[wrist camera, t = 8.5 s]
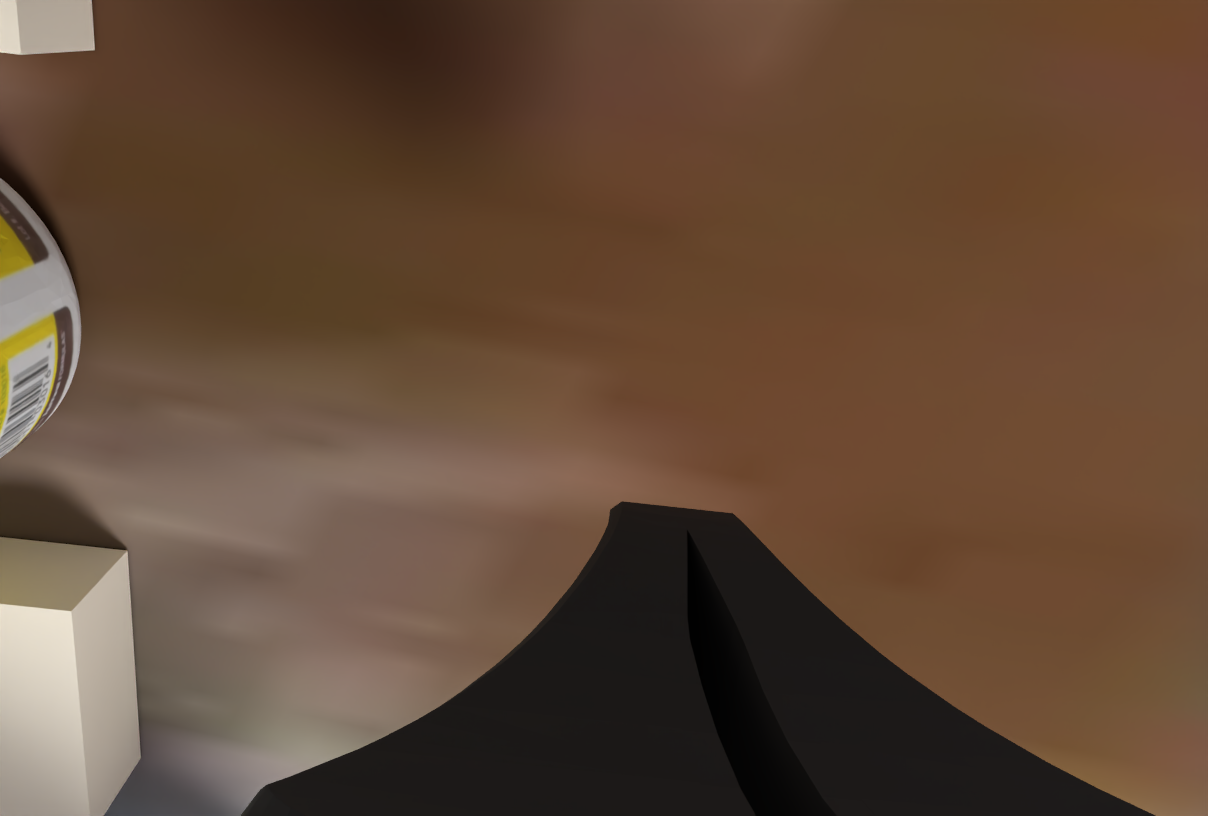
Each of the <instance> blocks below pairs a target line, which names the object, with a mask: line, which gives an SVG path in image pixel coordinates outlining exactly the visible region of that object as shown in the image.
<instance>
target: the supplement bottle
mask: <svg viewBox="0 0 1208 816" xmlns="http://www.w3.org/2000/svg"><path fill="white" fill-rule="evenodd" d="M80 342H81V319H80V309H79V302H78V298H77V293H76V289H75V286H74V283H73V280H72V276H71V273H70V271H69V268H68V266H67V263H66V261H65V259H64V257H63V255H62V253H61V251H60V249H59V247H58V245H57V243H56V241H55V240H54V238H53V237H52V235H51V234H50V232H49V230H48V229H47V227H46V226H45V225H44V223H43V222H42V221H41V219H40V218H39V217H38V215H37V214H36V213H35V212H34V210H33V209H32V208H31V207H30V206H29V205H28V204H27V203H26V202H25V200H24V199H23V198H22V197H21V196H20V195H19V194H18V193H17V192H16V191H15V190H13V189H12V188H11V187H10V186H9V185H8V184H7V183H6V182H5V181H4V180H2V179H1V178H0V458H1V457H2V456H4V455H5V454H6V453H8V452H10V451H12V450H14V449H15V448H16V447H17V446H18V445H19V444H21V443H22V442H23V441H25V440H26V439H27V438H28V437H29V436H30V435H31V434H33V433H34V432H35V431H36V430H37V429H39V428H40V427H41V426H42V425H43V424H44V422H45V421H46V420H47V419H48V418H49V417H50V416H51V415H52V414H53V412H54V411H55V410H56V409H57V407H58V406H59V404H60V403H61V401H62V400H63V398H64V396H65V394H66V392H67V391H68V389H69V386H70V384H71V382H72V379H73V376H74V373H75V370H76V367H77V362H78V357H79V352H80Z"/></svg>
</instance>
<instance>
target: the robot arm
mask: <svg viewBox="0 0 1208 816" xmlns="http://www.w3.org/2000/svg"><path fill="white" fill-rule="evenodd" d="M241 816H1155V815H1153V814H1151V813H1149V812H1147V811H1144V810H1142V809H1140V808H1138V807H1136V806H1134V805H1132V804H1130V803H1127V802H1125V801H1123V800H1121V799H1119V798H1117V797H1115V796H1113V795H1110V794H1108V793H1106V792H1104V791H1102V790H1100V789H1098V788H1096V787H1094V786H1092V785H1090V784H1088V783H1086V782H1084V781H1082V780H1080V779H1078V778H1076V777H1074V776H1073V775H1071V774H1069V773H1067V772H1065V771H1063V770H1061V769H1059V768H1057V767H1055V766H1053V765H1051V764H1050V763H1048V762H1046V761H1044V760H1042V759H1041V758H1039V757H1037V756H1035V755H1034V754H1032V753H1030V752H1029V751H1027V750H1025V749H1023V748H1022V747H1020V746H1018V745H1016V744H1015V743H1013V742H1011V741H1009V740H1008V739H1006V738H1004V737H1003V736H1001V735H999V734H997V733H996V732H994V731H992V730H990V729H989V728H987V727H985V726H984V725H982V724H981V723H979V722H977V721H976V720H974V719H973V718H971V717H969V716H968V715H966V714H965V713H963V712H962V711H960V710H958V709H957V708H955V707H954V706H952V705H951V704H949V703H948V702H947V701H945V700H944V699H942V698H941V697H940V696H938V695H937V694H935V693H934V692H932V691H931V690H930V689H928V688H927V687H925V686H924V685H922V684H921V683H920V682H918V681H917V680H915V679H914V678H912V677H911V676H910V675H908V674H907V673H905V672H904V671H903V670H901V669H900V668H899V667H897V666H896V665H895V664H893V663H892V662H891V661H890V660H888V659H887V658H886V657H884V656H883V655H882V654H881V653H879V652H878V651H877V650H876V649H875V648H873V647H872V646H871V645H870V644H869V643H867V642H866V641H865V640H864V639H863V638H862V637H860V636H859V635H858V634H857V633H856V632H854V631H853V630H852V629H851V628H850V627H849V626H847V625H846V624H845V623H844V622H843V621H842V620H840V619H839V618H838V617H837V616H836V615H835V614H834V613H833V612H832V611H831V610H829V609H828V608H827V607H826V606H825V605H824V604H823V603H822V602H821V601H820V600H819V599H818V598H817V597H816V596H814V595H813V594H812V593H811V592H810V591H809V590H808V589H807V588H806V587H805V586H804V585H803V584H802V583H801V582H800V581H799V580H798V579H797V578H796V577H795V576H794V575H793V574H792V573H791V572H790V571H789V570H788V569H787V568H786V567H785V566H784V565H783V564H782V563H781V562H780V561H779V560H778V559H777V558H776V557H775V556H774V554H773V553H772V552H771V551H770V550H769V549H768V548H767V547H766V546H765V545H764V544H763V543H762V542H761V541H760V540H759V539H758V538H757V537H756V536H755V535H754V534H753V533H752V532H751V531H750V529H749V528H748V527H747V526H746V525H745V524H744V523H743V522H742V521H741V520H739V519H738V518H737V517H736V516H735V515H734V514H733V513H724V512H714V511H705V510H696V509H687V508H677V507H668V506H659V505H650V504H640V503H631V502H621V503H619V504H618V505H616V506H615V507H614V508H612V509H611V510H610V516H609V523H608V526H607V528H606V530H605V533H604V535H603V537H602V539H601V540H600V542H599V544H598V546H597V548H596V550H595V551H594V553H593V554H592V556H591V558H590V559H589V561H588V562H587V564H586V565H585V567H584V568H583V570H582V571H581V573H580V574H579V576H578V577H577V579H576V580H575V581H574V583H573V584H572V585H571V587H570V588H569V589H568V590H567V592H566V593H565V594H564V595H563V596H562V598H561V599H560V600H559V601H558V602H557V604H556V605H555V606H554V607H553V608H552V610H551V611H550V612H549V613H548V614H547V616H546V617H545V618H544V619H543V620H542V621H541V622H540V623H539V624H538V626H537V627H536V628H535V629H534V630H533V631H532V632H531V633H530V634H529V635H528V636H527V637H526V638H525V639H524V640H523V641H522V642H521V643H520V644H519V645H517V646H516V647H515V648H514V649H513V650H512V651H511V652H510V653H509V654H508V655H506V656H505V657H504V658H503V659H502V660H501V661H500V662H499V663H497V664H496V665H495V666H494V667H492V668H491V669H490V670H489V671H487V672H486V673H485V674H483V675H482V676H481V677H480V678H478V679H477V680H476V681H474V682H473V683H472V684H471V685H469V686H468V687H467V688H465V689H464V690H463V691H462V692H460V693H459V694H457V695H456V696H454V697H453V698H451V699H450V700H449V701H447V702H446V703H444V704H443V705H441V706H440V707H438V708H437V709H435V710H433V711H431V712H430V713H428V714H426V715H425V716H423V717H421V718H419V719H418V720H416V721H414V722H412V723H410V724H408V725H406V726H404V727H403V728H401V729H399V730H397V731H395V732H393V733H391V734H389V735H387V736H385V737H383V738H381V739H379V740H377V741H375V742H373V743H371V744H369V745H366V746H364V747H362V748H360V749H358V750H355V751H353V752H350V753H348V754H345V755H343V756H340V757H338V758H335V759H333V760H330V761H328V762H325V763H323V764H320V765H318V766H315V767H313V768H310V769H308V770H305V771H303V772H300V773H298V774H296V775H293V776H291V777H288V778H285V779H282V780H279V781H276V782H274V783H271V784H268V785H266V786H265V787H263V788H262V789H261V790H260V791H259V792H258V794H257V795H256V796H255V797H254V799H253V800H252V801H251V803H250V804H249V805H248V807H247V808H246V809H245V811H244V812H243V813H242V815H241Z"/></svg>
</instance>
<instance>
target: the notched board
mask: <svg viewBox="0 0 1208 816" xmlns="http://www.w3.org/2000/svg"><path fill="white" fill-rule="evenodd" d="M90 50H95V45H94V29H93V14H92V0H0V52H3V53H11V54H19V55H24V54H41V53H57V52H74V51H90ZM140 759H141V751H140V736H139V721H138V705H137V690H136V675H135V659H134V644H133V628H132V613H131V598H130V582H129V567H128V552H127V550H118V549H108V548H99V547H89V546H80V545H71V544H61V543H52V542H43V541H33V540H24V539H15V538H5V537H0V816H104V814H105V813H106V811H107V810H108V808H109V807H110V805H111V804H112V802H113V801H114V799H115V797H116V796H117V794H118V793H119V791H120V790H121V788H122V787H123V785H124V783H125V782H126V780H127V779H128V777H129V776H130V774H131V773H132V771H133V770H134V768H135V766H136V765H137V763H138V762H139V760H140Z"/></svg>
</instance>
